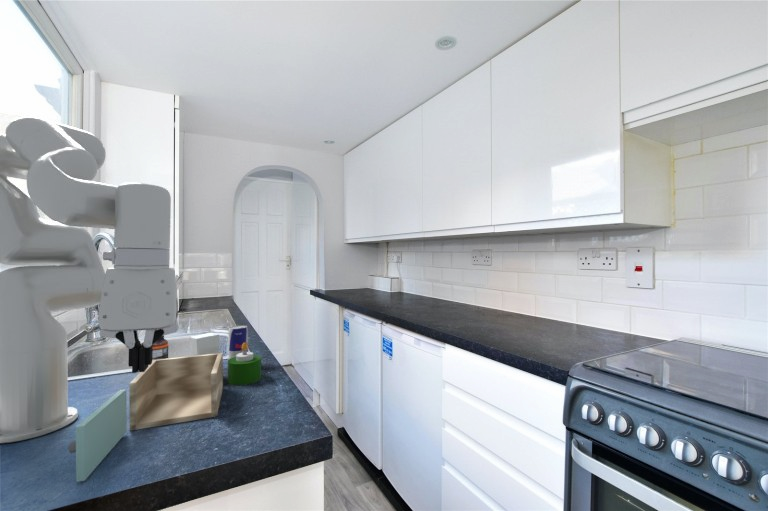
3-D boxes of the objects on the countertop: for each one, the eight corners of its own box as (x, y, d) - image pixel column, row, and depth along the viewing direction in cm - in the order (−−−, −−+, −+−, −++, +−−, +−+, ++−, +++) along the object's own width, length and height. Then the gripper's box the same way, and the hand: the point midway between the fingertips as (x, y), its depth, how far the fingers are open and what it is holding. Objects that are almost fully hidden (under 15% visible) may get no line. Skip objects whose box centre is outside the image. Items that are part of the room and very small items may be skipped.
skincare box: (212, 374, 95) (212, 332, 95) (220, 377, 93) (219, 334, 93) (189, 381, 90) (189, 336, 90) (197, 384, 88) (197, 338, 88)
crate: (129, 430, 65) (129, 383, 65) (152, 398, 80) (152, 360, 80) (216, 416, 70) (216, 372, 70) (223, 388, 85) (222, 352, 85)
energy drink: (241, 370, 99) (240, 329, 99) (224, 369, 100) (224, 328, 100) (251, 364, 104) (251, 325, 104) (236, 363, 105) (235, 325, 105)
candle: (233, 374, 95) (233, 339, 95) (264, 373, 96) (263, 338, 96) (223, 386, 87) (223, 347, 87) (256, 384, 88) (256, 345, 88)
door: (112, 433, 63) (112, 390, 63) (126, 431, 63) (126, 389, 63) (66, 483, 49) (65, 428, 49) (84, 480, 49) (84, 425, 50)
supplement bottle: (146, 370, 99) (146, 332, 99) (170, 368, 102) (170, 330, 102) (140, 377, 94) (140, 336, 94) (165, 374, 96) (165, 334, 96)
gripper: (75, 259, 50) (72, 383, 50) (191, 261, 56) (188, 372, 56) (95, 258, 57) (93, 367, 57) (196, 259, 63) (194, 358, 63)
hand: (140, 369), depth 56 cm, fingers closed
